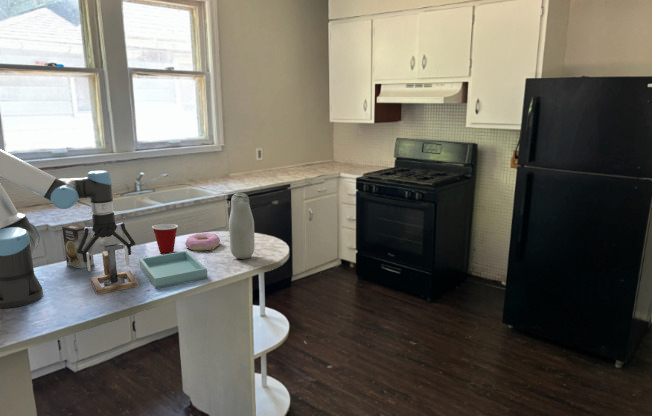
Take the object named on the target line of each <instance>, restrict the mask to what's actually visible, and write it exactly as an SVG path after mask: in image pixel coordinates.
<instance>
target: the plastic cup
mask: <svg viewBox="0 0 652 416" xmlns="http://www.w3.org/2000/svg"><path fill="white" fill-rule="evenodd" d="M151 228H152V230H153V234H154V235H155V239H156V240H155V241H156V244H157V246H158V251H159V253H160V255H164V254H170V253H174V251H175V245H176V244H175V242H176V237H177V230H178V228H179V225H178V224H175V223H174V224H172V223H168V224H167V223H165V224H155V225H152V226H151Z"/></svg>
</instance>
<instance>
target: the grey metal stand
mask: <svg viewBox="0 0 652 416" xmlns="http://www.w3.org/2000/svg"><path fill="white" fill-rule="evenodd" d="M103 247H104V251H108V260H109V270H110V279H108V280H106V281H103V287H106V286H111V285H117V284H122V283H126V279H125V278H124V277H123V278H118V277H117V273H118V270H117V269H118V267H117V258H116V257H117V256H116V250H117V251H118V250H122V249H123V250H124V244H123V243H122V242H120V243H115V244H110V245H104V246H103Z"/></svg>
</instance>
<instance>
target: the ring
mask: <svg viewBox="0 0 652 416" xmlns="http://www.w3.org/2000/svg"><path fill="white" fill-rule="evenodd" d="M101 254H102V265H103V273H104V275H98V276H93V277H91V278H90V279H91V284H92V286H93V288H94V291H95V293H96V295H100V294H106V293H110V292H115V291H120V290H126V289H130V288H136V287H139V282H138V280H137V279H136V277H135V275H134V274H133V273H132V271H131V270H126V271H121V272H117V277H118V278H123V279H124V278H126V279H127V280H128V281H129V282H125V283H122V284H117V285H111V286H106V287H105V286H102V285H101V283H102V282H104V281H106V280H108V279H110V270H109V260H108V251H105V250H104V251H102V252H101ZM100 282H101V283H100Z"/></svg>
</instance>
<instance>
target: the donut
mask: <svg viewBox="0 0 652 416" xmlns="http://www.w3.org/2000/svg"><path fill="white" fill-rule="evenodd" d="M220 242H221V239H220V237H219V236H218V235H217V234H216V233H215V234H214V233H210V232H207V233H201V232H200V233H195V234H192V235H189V236H188V237H187V238H186V241H185V246H186V247H187V248H188V249H190V251H191V250H192V251H199V252H200V251H201V252H203V251H209V250H213V249H216V248H217V247H218V246H219V245H220Z"/></svg>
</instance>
